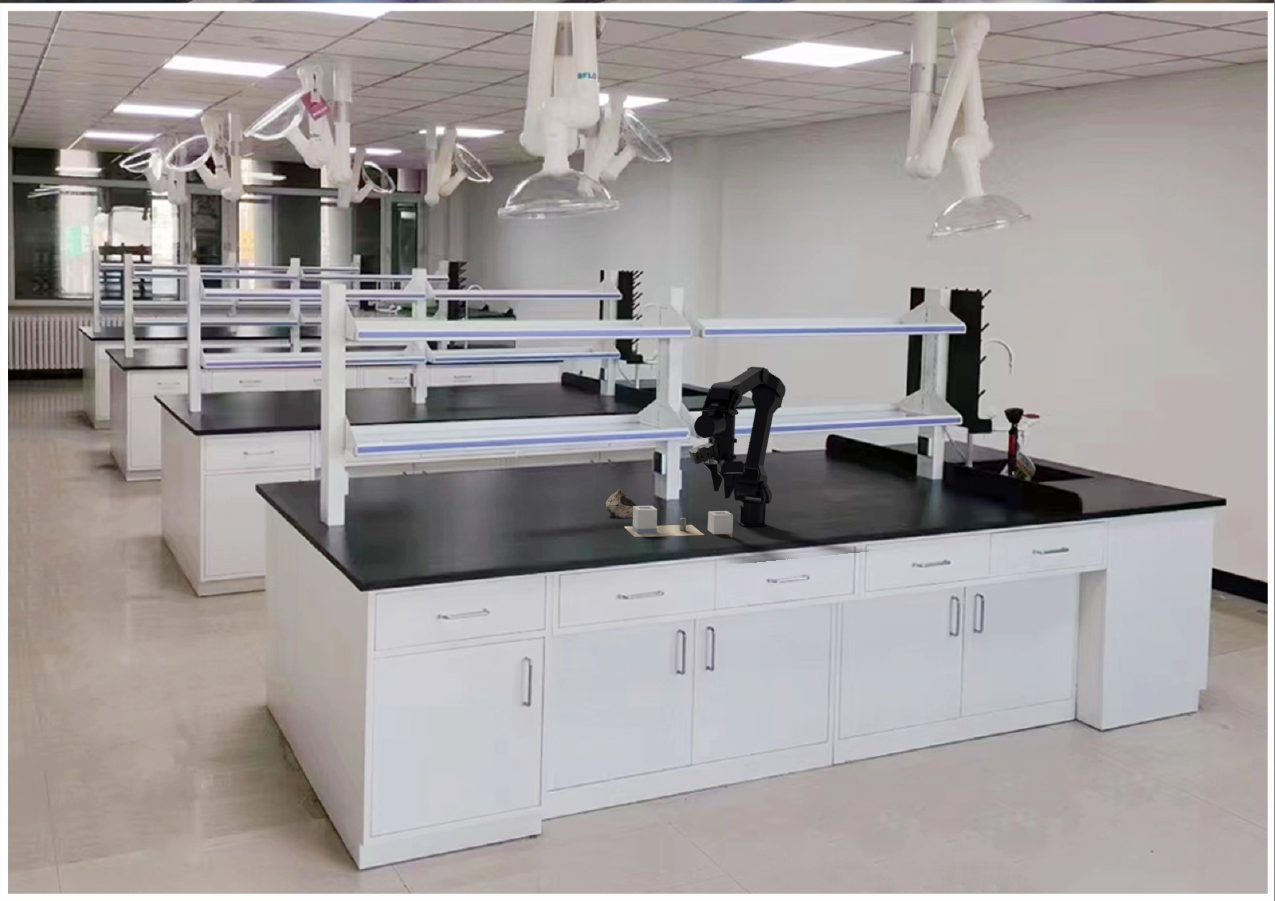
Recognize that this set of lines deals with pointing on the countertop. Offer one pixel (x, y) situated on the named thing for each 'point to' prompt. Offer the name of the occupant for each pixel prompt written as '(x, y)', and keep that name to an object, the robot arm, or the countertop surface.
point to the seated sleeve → (644, 519)
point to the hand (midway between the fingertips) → (721, 494)
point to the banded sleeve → (720, 522)
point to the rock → (620, 505)
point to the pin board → (669, 530)
